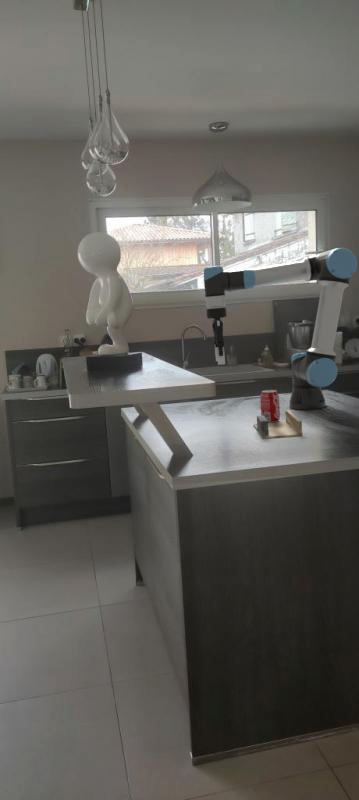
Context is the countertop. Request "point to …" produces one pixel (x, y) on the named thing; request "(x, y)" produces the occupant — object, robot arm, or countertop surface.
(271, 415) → the soda can
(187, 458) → the countertop surface
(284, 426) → the u-shaped channel bracket
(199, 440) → the countertop surface
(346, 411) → the countertop surface
